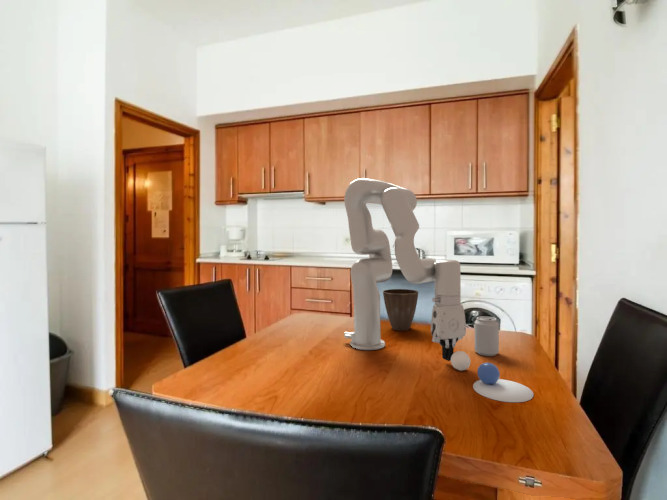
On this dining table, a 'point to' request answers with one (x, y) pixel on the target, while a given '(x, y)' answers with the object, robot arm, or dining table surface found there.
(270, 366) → the dining table surface
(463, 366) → the cue ball
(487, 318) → the can
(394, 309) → the plant pot
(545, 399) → the dining table surface
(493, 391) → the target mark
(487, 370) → the object ball
